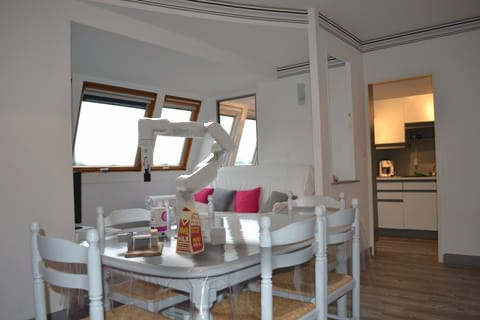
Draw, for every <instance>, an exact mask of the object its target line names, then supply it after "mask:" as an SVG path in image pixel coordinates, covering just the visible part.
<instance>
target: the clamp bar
mask: <svg viewBox="0 0 480 320" xmlns="http://www.w3.org/2000/svg"><path fill="white" fill-rule="evenodd" d="M156 237H157V234H156V235H151V234H143V235H133V236H132V239H133V240H135V239H140V238H150V239H151V238H156ZM117 243H119V244H120V243H122V244H123V243H127V233H118V234H117Z"/></svg>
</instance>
